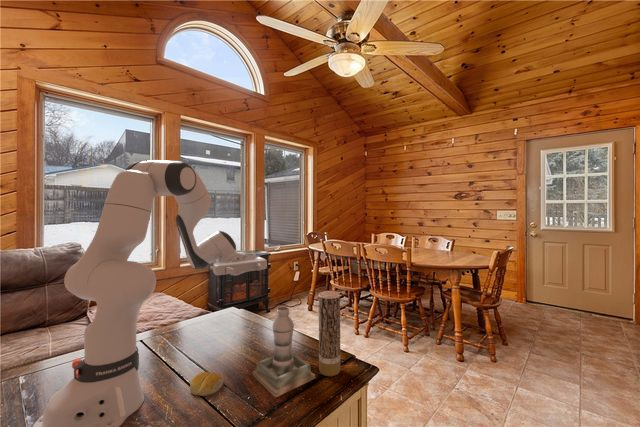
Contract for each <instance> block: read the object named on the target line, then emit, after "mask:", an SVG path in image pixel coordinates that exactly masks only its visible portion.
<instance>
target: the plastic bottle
mask: <svg viewBox="0 0 640 427" xmlns="http://www.w3.org/2000/svg"><path fill="white" fill-rule="evenodd" d="M294 326H295V324H294V321H293V319H292V318H291V317H290V308H289V306H288V307H287V306H279V307H277V308H276V318H275V319H274V322H273V324H272V333H273V334H272V335H273V344H274V346H273V347H274V349H273V350H274V351H273V356H274V358H273V363H272V367H273V371H274V373H275V374H276V375H279V376H281V375H283V374H285V373H287V372H290V371H292V370H293V367H294V360H293V354H292V353H293V335H294V328H295V327H294Z"/></svg>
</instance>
